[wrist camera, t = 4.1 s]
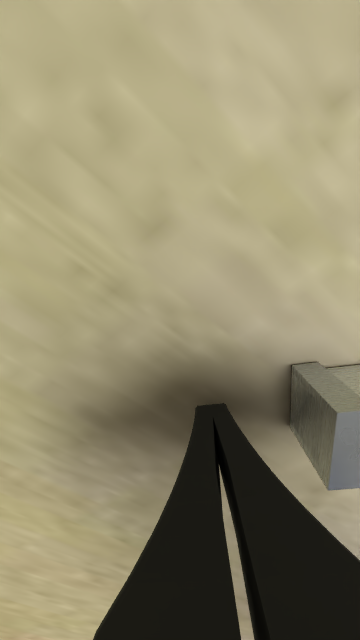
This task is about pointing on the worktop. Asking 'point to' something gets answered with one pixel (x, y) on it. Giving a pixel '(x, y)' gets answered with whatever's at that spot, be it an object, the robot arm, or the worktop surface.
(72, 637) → the worktop surface
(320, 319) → the worktop surface
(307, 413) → the grey stepped block
